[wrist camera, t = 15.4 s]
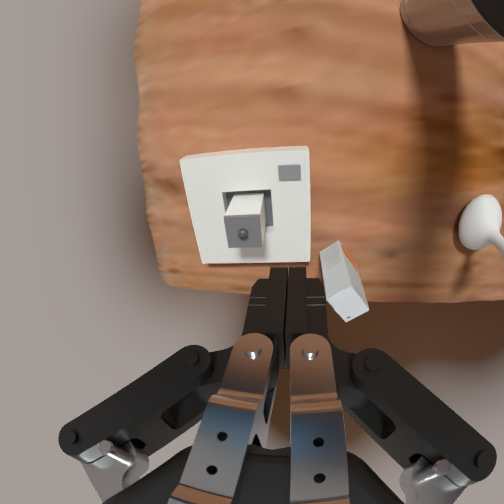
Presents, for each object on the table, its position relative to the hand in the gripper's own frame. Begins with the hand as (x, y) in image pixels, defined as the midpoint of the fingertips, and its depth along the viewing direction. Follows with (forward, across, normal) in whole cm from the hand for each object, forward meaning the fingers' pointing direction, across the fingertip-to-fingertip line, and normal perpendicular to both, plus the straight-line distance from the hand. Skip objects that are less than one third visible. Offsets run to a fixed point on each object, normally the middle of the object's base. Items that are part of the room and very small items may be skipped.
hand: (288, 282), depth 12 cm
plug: (+28, +7, +10) cm, 31 cm away
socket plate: (+29, +7, +10) cm, 31 cm away
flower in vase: (+30, -36, +12) cm, 49 cm away
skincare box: (+29, -7, +20) cm, 36 cm away
